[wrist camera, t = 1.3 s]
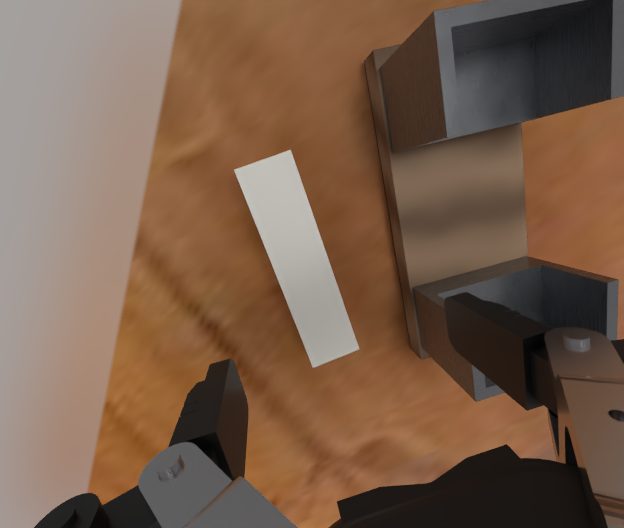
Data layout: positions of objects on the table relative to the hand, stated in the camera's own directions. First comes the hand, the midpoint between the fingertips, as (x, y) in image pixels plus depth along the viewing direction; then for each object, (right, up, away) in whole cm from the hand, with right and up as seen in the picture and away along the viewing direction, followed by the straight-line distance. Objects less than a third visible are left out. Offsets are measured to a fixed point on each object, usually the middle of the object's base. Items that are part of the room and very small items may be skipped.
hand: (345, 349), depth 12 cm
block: (-3, +4, +15) cm, 16 cm away
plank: (+11, +8, +16) cm, 21 cm away
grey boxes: (+11, +8, +14) cm, 20 cm away
